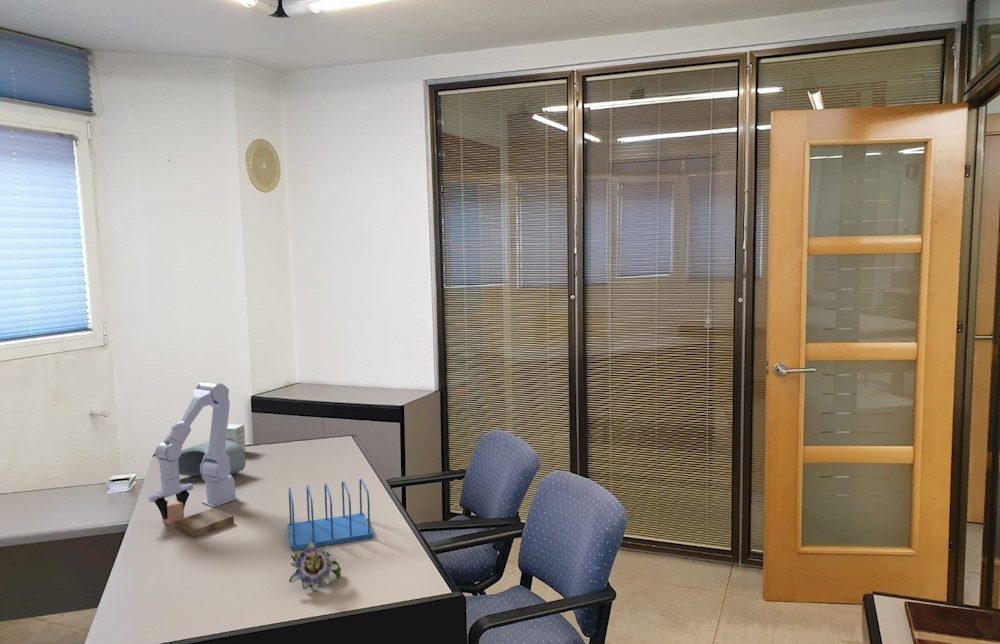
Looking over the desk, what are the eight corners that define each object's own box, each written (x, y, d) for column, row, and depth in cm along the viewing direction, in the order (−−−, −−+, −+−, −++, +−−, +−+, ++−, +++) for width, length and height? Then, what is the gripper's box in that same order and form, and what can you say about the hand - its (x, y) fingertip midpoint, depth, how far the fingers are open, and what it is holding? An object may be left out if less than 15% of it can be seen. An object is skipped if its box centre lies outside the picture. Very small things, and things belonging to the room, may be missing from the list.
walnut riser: (214, 514, 241) (214, 507, 241) (233, 523, 234) (233, 515, 234) (175, 528, 230) (174, 521, 230) (194, 537, 223) (193, 530, 223)
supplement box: (221, 456, 305) (220, 428, 303) (231, 450, 312) (229, 423, 311) (237, 456, 304) (235, 428, 302) (246, 451, 311) (244, 424, 309)
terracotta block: (176, 516, 240) (175, 499, 239) (184, 519, 237) (182, 502, 236) (162, 521, 236) (161, 504, 235) (169, 524, 233) (168, 507, 232)
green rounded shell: (246, 475, 281) (244, 444, 279) (204, 490, 265) (202, 457, 263) (212, 465, 292) (210, 436, 291) (170, 479, 276) (168, 448, 275)
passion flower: (316, 611, 190) (287, 584, 183) (304, 584, 200) (276, 557, 193) (353, 579, 193) (326, 551, 186) (340, 554, 203) (314, 527, 196)
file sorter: (291, 552, 212) (288, 504, 210) (287, 529, 228) (285, 484, 227) (373, 538, 221) (371, 492, 219) (364, 518, 237) (362, 474, 235)
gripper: (184, 469, 243) (187, 506, 245) (142, 481, 231) (145, 520, 233) (195, 473, 239) (197, 511, 240) (152, 485, 227) (156, 525, 229)
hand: (172, 515), depth 236 cm, fingers closed on terracotta block, 5 cm apart
